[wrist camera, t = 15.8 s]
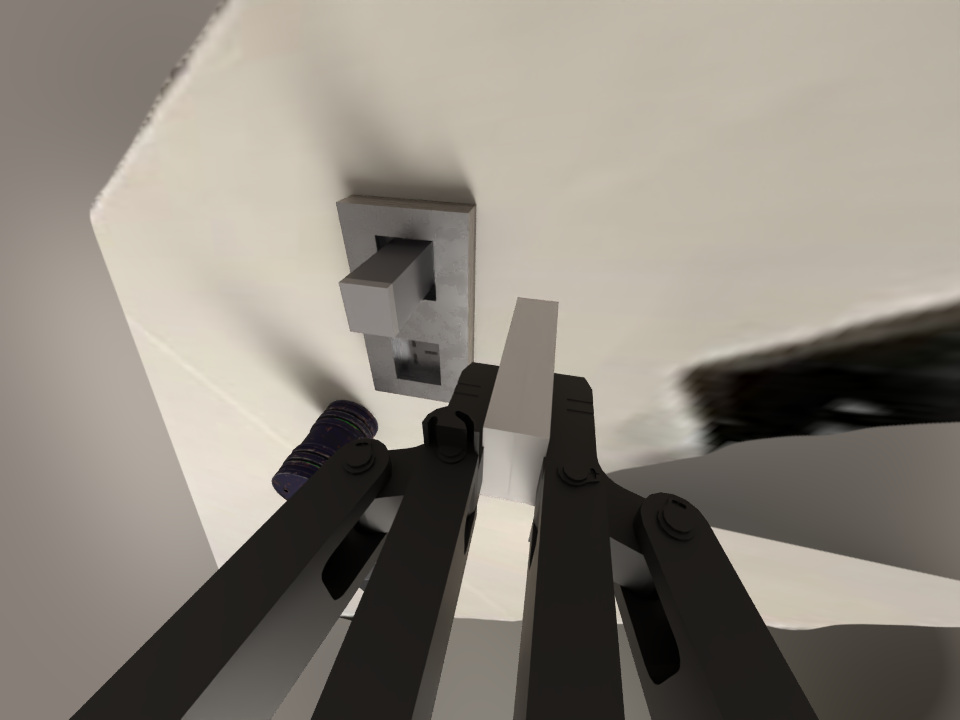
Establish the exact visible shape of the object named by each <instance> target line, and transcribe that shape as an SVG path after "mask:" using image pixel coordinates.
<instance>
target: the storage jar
mask: <svg viewBox="0 0 960 720" xmlns="http://www.w3.org/2000/svg"><path fill="white" fill-rule="evenodd" d="M377 431H378V424H377V421H376V419H375V418H374V416H373V415H372V414H371V413H370V412H369V411H368V410H367V409H365V408H364V407H362V406H361V405H359V404H357V403H354V402H351V401H346V400H338V401H334V402H332V403H331V404H330V405H329V406H328V408H327V410H325V411H324V413H322V414H321V415H320V417H319V418H318V419H317V421H316V423H314V425H313V426H312V428H311V430H310V433H309V434H308V436H307V437H306V438H305V439H304V441H303V442H302V443H301V445H298V446H297V447H296V448H295V449H294V450H293V451H292V453H291V455H289V456H288V457H287V459H286V460H285V461H284V463H283V465H282V466H281V468H280V469H279V471H278V472H277V473H276V474H275V475H274V477H273V478H272V485H273V487H274V489H275V490H276V491H277V493H278V494H279V495H280V496H282V497H283V498H284V499H285V500H288V499H289V498H290V497H291V496H292V495H293V494H294V493H295V492H296V491H297V490H298V489H299V488H300V487H301V486H302V485H303V484H304V483H305V482H306V481H307V480H308V479H309V478H310V477H311V476H312V475H313V474H314V473H315V472H316V471H317V470H318V469H319V468H320V467H321V466H322V465H323V464H324V463H325V462H326V461H327V460H328V459H329V458H330V457H331V456H332V455H333V454H334V453H335V452H336V451H337V450H338V449H340V448H341V447H342V446H344V445H345V444H346V443H349V442H351V441H354V440H356V439H363V438H371V439H373V438H374V436H375V435H376V433H377Z"/></svg>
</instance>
